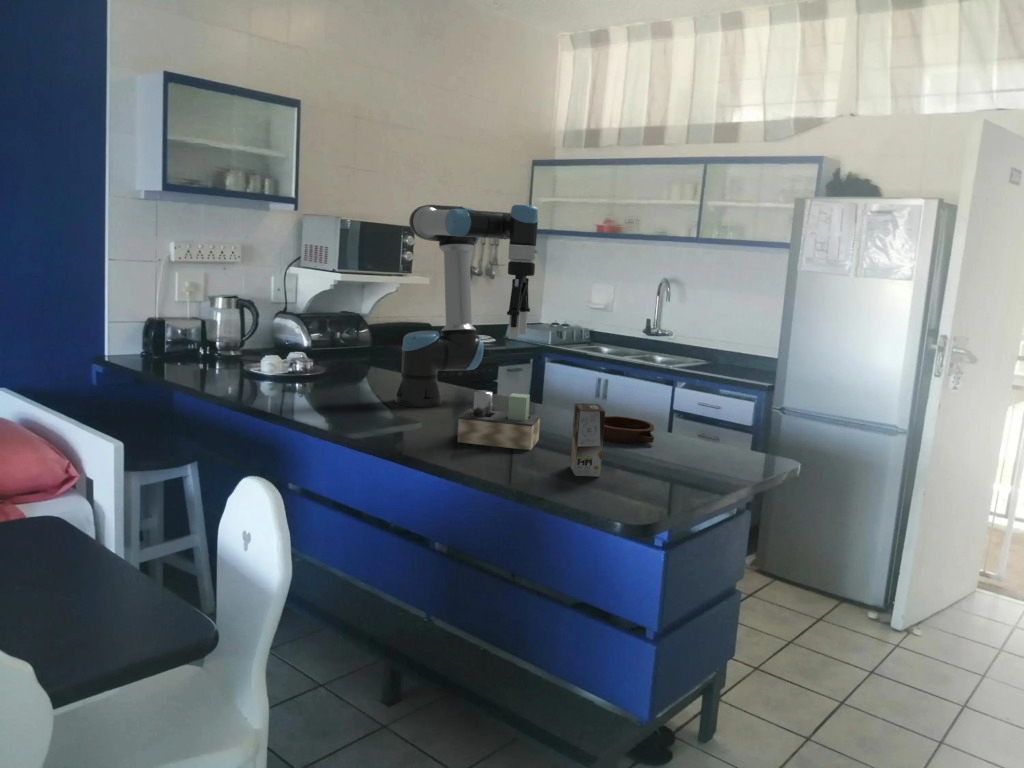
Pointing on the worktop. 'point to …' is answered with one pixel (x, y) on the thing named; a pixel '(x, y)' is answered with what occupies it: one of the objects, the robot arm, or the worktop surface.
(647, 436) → the dish
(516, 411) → the sage peg
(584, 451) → the coffee box
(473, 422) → the socket block
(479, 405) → the metal peg
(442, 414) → the worktop surface
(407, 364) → the robot arm
